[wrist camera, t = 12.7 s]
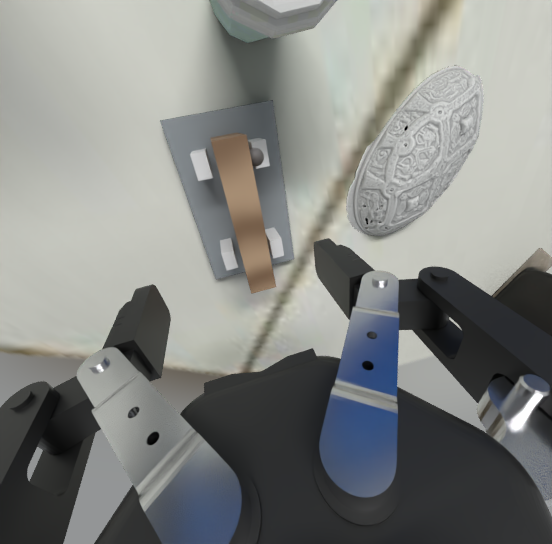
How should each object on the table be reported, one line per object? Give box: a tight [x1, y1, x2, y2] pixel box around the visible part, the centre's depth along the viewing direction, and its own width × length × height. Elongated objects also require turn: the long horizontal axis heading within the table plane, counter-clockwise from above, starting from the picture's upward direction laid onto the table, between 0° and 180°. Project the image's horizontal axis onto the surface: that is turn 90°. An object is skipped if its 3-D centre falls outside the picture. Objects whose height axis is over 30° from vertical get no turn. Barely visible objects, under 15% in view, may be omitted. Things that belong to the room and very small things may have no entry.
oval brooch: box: [346, 65, 484, 236], centre depth 34 cm, size 16×25×7 cm, turn 151°
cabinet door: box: [210, 133, 276, 294], centre depth 28 cm, size 16×4×8 cm, turn 9°
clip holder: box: [160, 100, 294, 279], centre depth 30 cm, size 20×12×6 cm, turn 9°
